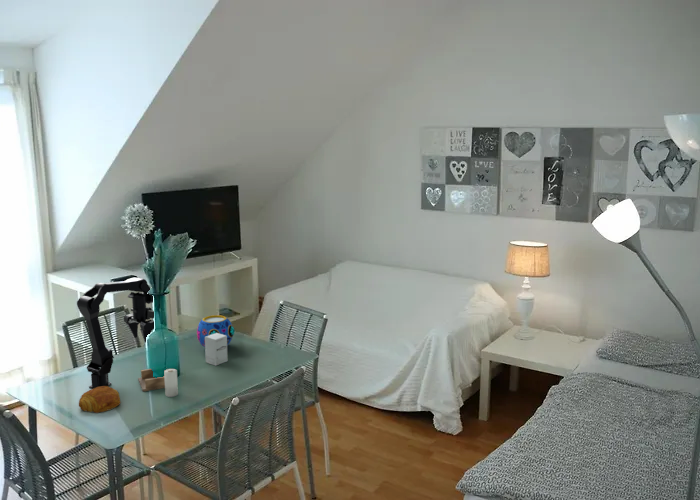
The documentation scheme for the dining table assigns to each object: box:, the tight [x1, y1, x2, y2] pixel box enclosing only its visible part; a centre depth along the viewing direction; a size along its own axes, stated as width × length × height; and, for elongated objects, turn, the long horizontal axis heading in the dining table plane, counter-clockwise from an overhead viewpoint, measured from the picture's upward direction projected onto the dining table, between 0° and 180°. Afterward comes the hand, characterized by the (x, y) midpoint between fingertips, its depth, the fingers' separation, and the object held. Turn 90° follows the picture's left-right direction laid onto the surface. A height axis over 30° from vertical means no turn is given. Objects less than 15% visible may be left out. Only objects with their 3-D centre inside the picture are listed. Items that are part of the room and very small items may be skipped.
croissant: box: [78, 386, 122, 414], centre depth 247 cm, size 14×16×8 cm
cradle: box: [137, 368, 168, 392], centre depth 268 cm, size 12×13×4 cm
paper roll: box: [164, 368, 179, 398], centre depth 257 cm, size 5×5×10 cm
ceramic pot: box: [196, 314, 235, 348], centre depth 309 cm, size 18×18×15 cm
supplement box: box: [204, 333, 229, 367], centre depth 291 cm, size 7×7×13 cm
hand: (141, 339), depth 281 cm, fingers open, 9 cm apart
